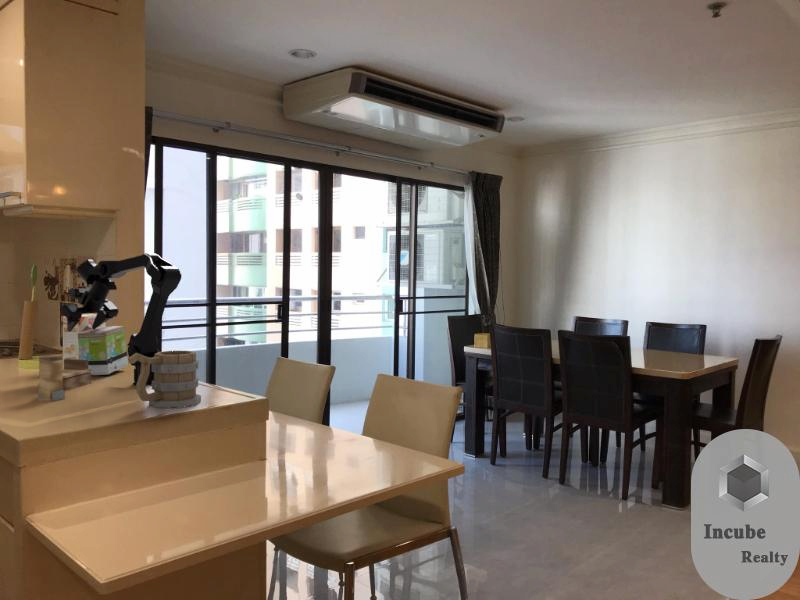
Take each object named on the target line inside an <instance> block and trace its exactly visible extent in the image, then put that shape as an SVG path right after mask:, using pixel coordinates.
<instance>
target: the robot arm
mask: <svg viewBox="0 0 800 600" xmlns="http://www.w3.org/2000/svg"><path fill="white" fill-rule="evenodd" d="M140 269H145V271H146V273H147V275H148V276H150V278H151V279H150V285H151V288H152V293H151V296H150V299H149V302H148V305H147V308H146V311H145V315H144V317H143V321H142V323H141V327H140V329H139V332H138V333H131V335H130V337H129V340H128V341H129V342H128V344H126V347H127V356H128V358H129V357H131V356H132V355H134V354H135V353H139V354H141V355H143V356H146V357H149V358H153V357H154V354H155V353H158V352H160V350H159V349H158V346H159V342H158V338H157V333H158V331H159V327H160V323H161V321H162V318H163V315H164V313H165V312H164V311H165V310H166V309H165V308H166V306H167V304H168V303H167V302H168V301H169V300H168V299H169V297H170V295H171V294H172V293H173V292H174V291H175V290H176V289H178V286H179V284H180V282H181V280H182V273H181V270H180V268H178V267H177V266H175V265H174V264H173V263H170V262H169V261H167V260H165V259H164V258H162V257H161V256H160V255H159V254H157V253H147V252H146V253H143V254H140V255H136V256H133V257H128V258H125V259H121V260H120V259H119V260H100V261H99V262H98V263H97V264H96V262H95V261H94V260H93V259H90V258H89V259H86V260H85V261H84V262H82V263H80V264H79V265H78V266H77V267H76V269H75V270H76V274H77V275H78V276H79V277H80V278H81V279H82V280H83V281H84V282H85V284H87V285H91V286H90V289H88V288H85V287H84V288H83V287H82V288H77V287H71V288H70V290H69V292H68V296H69V297H70V298H72V299H74V300H77V301H78V303H79V305H81V306H82V307H78V306H77V305H76V304H75V303H62V304H61V306H60V308H59V311H60V312H61V313H62V314H63V316H66V318H67V330H68V332H70V331H71V330H72V329H73V328H74V327H75V326H76V325H77V323H78V322H79V321H80V320H79V319H80V318H81V316H82V315H83V314H97V315H96V318H95V320H94V322H93V325H92V329H96V328H97V327H99V326H100V325H101V324H103V323H104V322H108V321H109V320H111V319H113V318H114V317H117V316H118V314H119V308H118V307H117V306H116V305H115V304H114V303H113V302H112V301H111V300H109V299H107V298H108V296H109V294H110V291H116V290H118V288H117V285H116V283H115V281H112V280H111V279H120V278H122V277H124V276H125V275H127V273H129V272H133V271H136V270H140ZM130 366H133V367H134V369H133V383H132V385H134V384H136V385H135V386H137V381H138V378H139V375H140V370H141V362H139V361H136V362H135V363H134V364H131V363H130ZM153 380H154V372H152V364H150V372H149V376H148V379H147V382H146V386H152V381H153Z"/></svg>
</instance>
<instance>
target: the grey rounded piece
mask: <svg viewBox="0 0 800 600" xmlns="http://www.w3.org/2000/svg"><path fill="white" fill-rule="evenodd" d="M65 397H66V392H65V391H64V390H60V391H54V392H52V400H44V399H40V389H37V400H38V401H41V402H45V401H46V402H47V401H49V402H51V401H59V400H64V399H66V398H65Z"/></svg>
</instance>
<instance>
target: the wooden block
mask: <svg viewBox="0 0 800 600" xmlns="http://www.w3.org/2000/svg"><path fill="white" fill-rule="evenodd" d="M38 369H39V371H38V372H39V374H38V376H39V377H38V380H39V382H38V383H39V385H38V387H39V389H38V390H40V399H44V400H52V392H54V391H60V390H63V371H62V369H63V355H54V354H52V355H51V354H50V355H42V356H38Z"/></svg>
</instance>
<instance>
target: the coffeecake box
mask: <svg viewBox="0 0 800 600" xmlns="http://www.w3.org/2000/svg"><path fill="white" fill-rule="evenodd" d="M96 315H97V313H90V314H82V316H81V318H80V319H79V320H80V321H79V322H78V323H77V325H76V326H75V327H74V328H73V329H72V330H71V331H70V332H68V330H67V318H66V316H65V315H63V316H62V369H64V359H80V356H79V343H78V333H81V332H84V331H87V330H91V329H92V325H93V322H94V320H95V318H96ZM106 322H107V321H106ZM106 322H104V323H103V324H101V325H100V326H99V327H107V326H106Z"/></svg>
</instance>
